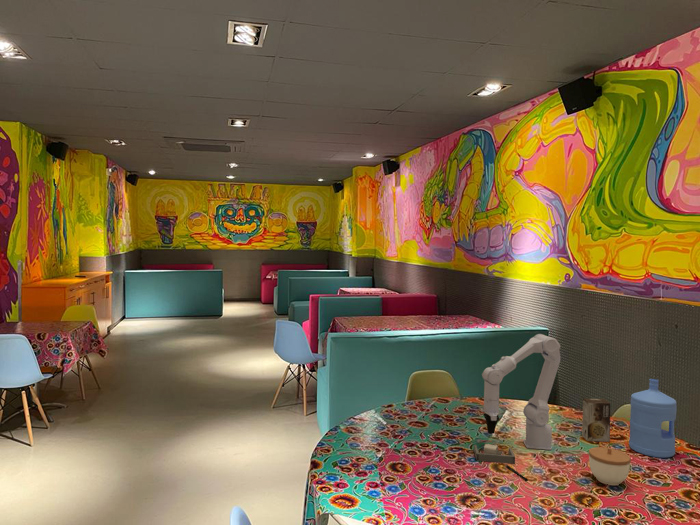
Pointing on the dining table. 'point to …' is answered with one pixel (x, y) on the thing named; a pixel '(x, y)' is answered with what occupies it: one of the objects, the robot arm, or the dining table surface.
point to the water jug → (652, 422)
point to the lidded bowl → (609, 465)
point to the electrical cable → (516, 473)
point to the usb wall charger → (492, 449)
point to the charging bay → (495, 457)
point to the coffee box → (596, 420)
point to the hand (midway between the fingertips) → (490, 433)
